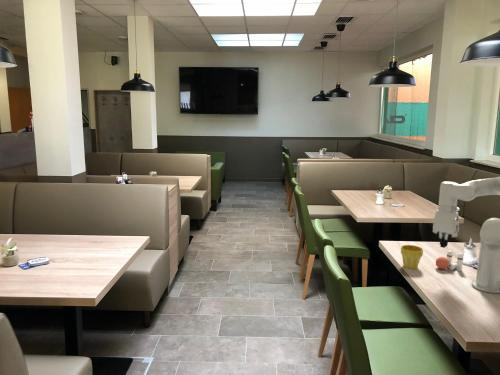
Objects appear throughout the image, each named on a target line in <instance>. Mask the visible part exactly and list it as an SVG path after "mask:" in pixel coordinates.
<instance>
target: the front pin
mask: <svg viewBox="0 0 500 375" xmlns="http://www.w3.org/2000/svg"><path fill="white" fill-rule="evenodd" d="M456 267H457V260H456V261H455V262H453V263H451V265H450V266H449V268H448V269H449V271H453V270H456Z"/></svg>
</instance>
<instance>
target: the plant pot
mask: <svg viewBox="0 0 500 375" xmlns="http://www.w3.org/2000/svg"><path fill="white" fill-rule="evenodd" d="M400 254H401V256H402V265H403V267H405V268H406V269H412V270H414V269H418V267H419V263H420V262H421V261H420V260H421V258H422V257H423V255H424V249H423V248H422V247H421V246H418V245H414V244H412V245H411V244H405V245H404V244H403V245H402V246H401V247H400Z"/></svg>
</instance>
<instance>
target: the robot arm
mask: <svg viewBox="0 0 500 375" xmlns="http://www.w3.org/2000/svg"><path fill="white" fill-rule="evenodd" d="M492 195H493V196H495V195H496V196H500V176H498V177H497V176H496V177H491V178H490V177H489V178H481V179H476V180H470V181H469V180H468V181H466V182H464V183H461V184H459V183H458V182H455V181H448V180H447V181H441V183H440V186H439V196H438V198H439V199H438V206H437V207H438V208H437V210H436V212H435V214H434V219H433V224H432V232H433V234H436V235H437V236H438V238H439V245H440V248H447V246H448V244H449V239H450V238H457V237H458V232H459V228H460V227H459V225H460V223H459V222H460V219H459V218H460V217H459V216H460V215H459V212H458V211H460V209H461V208H460V207H458V200H460V201H464V202H470V201H473V200H474V199H475V198H477V197H482V196H492ZM479 237H480V245H479V253H478V260H477V269H476V277H475V279H474V280H472V281H471V286H472V287H473V288H475V289H476V290H479V291H481V292H485V293H490V294H500V218H498V217H490V218H488V219H486V220H485V221H484V222H483V224H482V226H481V229H480V231H479Z"/></svg>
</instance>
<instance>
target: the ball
mask: <svg viewBox="0 0 500 375" xmlns="http://www.w3.org/2000/svg"><path fill="white" fill-rule="evenodd" d="M435 266H436V267H437V268H438V269H440V270H445V269H448V268H447V267H448V266H449V261H448V260H447V257H443V256H440V257H438V258H436V259H435Z"/></svg>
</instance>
